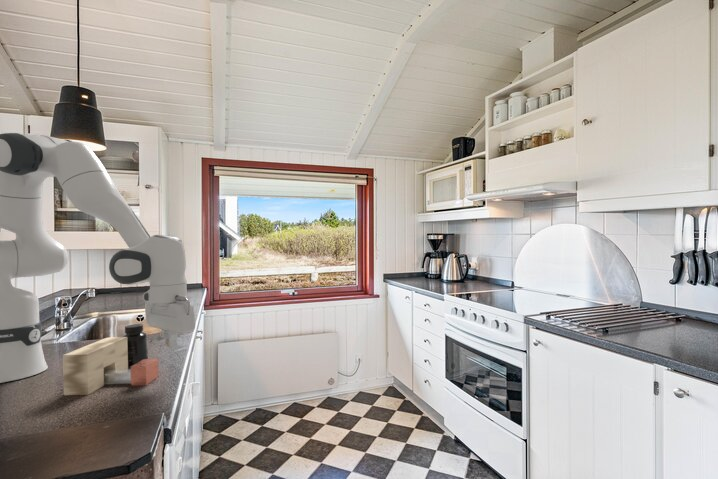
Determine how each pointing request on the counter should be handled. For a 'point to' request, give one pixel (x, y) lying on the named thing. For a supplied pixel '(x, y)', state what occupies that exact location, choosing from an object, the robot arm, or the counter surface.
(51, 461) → the counter surface
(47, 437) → the counter surface
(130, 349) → the supplement bottle
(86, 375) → the birch block
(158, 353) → the counter surface
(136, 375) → the orange and grey bar
